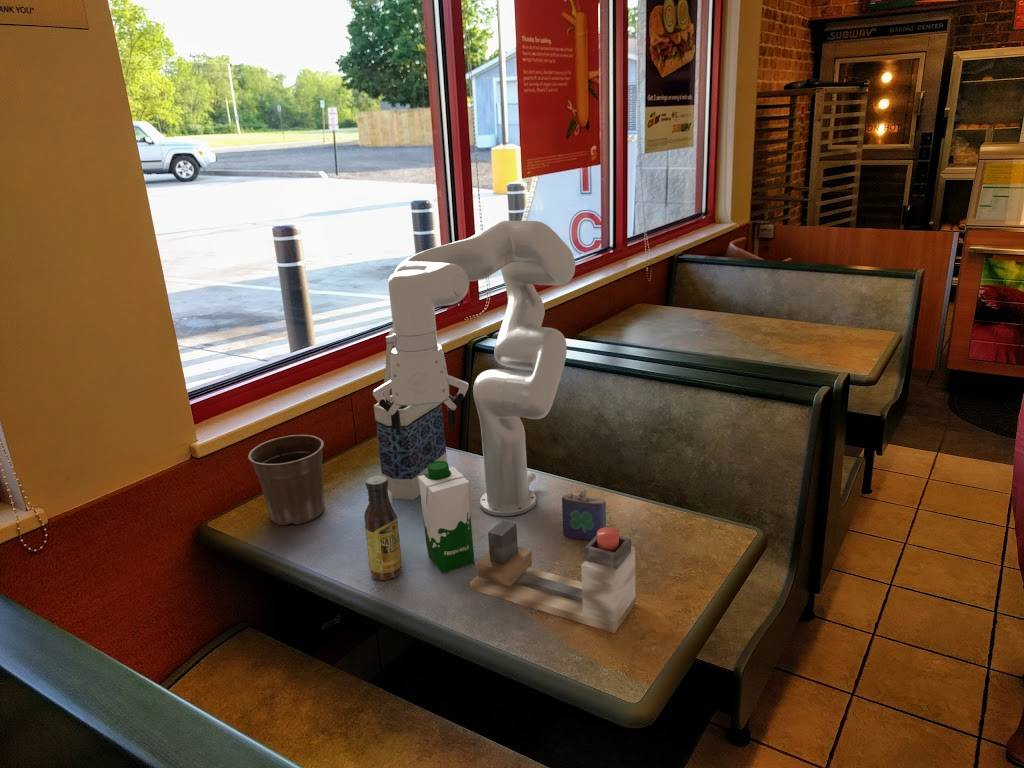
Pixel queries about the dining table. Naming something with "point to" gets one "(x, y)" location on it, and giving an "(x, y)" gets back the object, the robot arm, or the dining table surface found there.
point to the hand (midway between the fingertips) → (425, 430)
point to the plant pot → (291, 477)
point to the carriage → (504, 555)
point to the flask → (582, 516)
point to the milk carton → (446, 517)
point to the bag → (408, 441)
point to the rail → (578, 588)
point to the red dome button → (608, 539)
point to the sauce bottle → (382, 531)
